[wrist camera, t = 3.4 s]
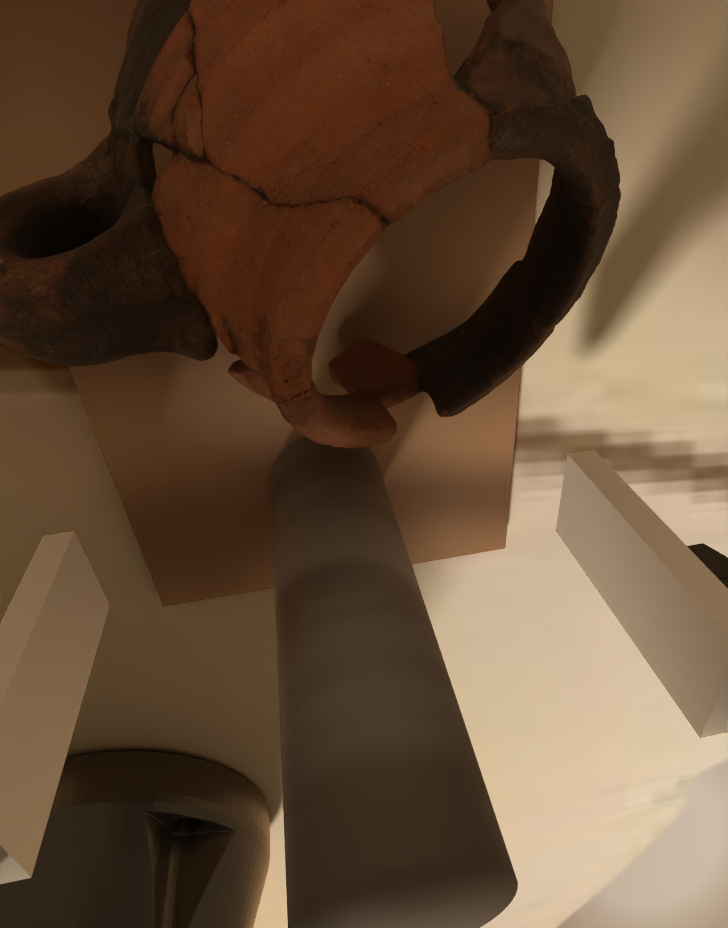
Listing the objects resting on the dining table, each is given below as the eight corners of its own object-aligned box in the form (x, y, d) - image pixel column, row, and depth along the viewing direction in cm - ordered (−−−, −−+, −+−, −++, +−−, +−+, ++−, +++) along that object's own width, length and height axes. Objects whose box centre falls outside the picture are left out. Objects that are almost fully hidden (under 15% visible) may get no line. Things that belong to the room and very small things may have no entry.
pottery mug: (437, -209, 11) (787, -78, 7) (420, 218, 19) (578, 384, 15) (-237, -49, 9) (-255, 274, 5) (74, 359, 17) (159, 597, 13)
